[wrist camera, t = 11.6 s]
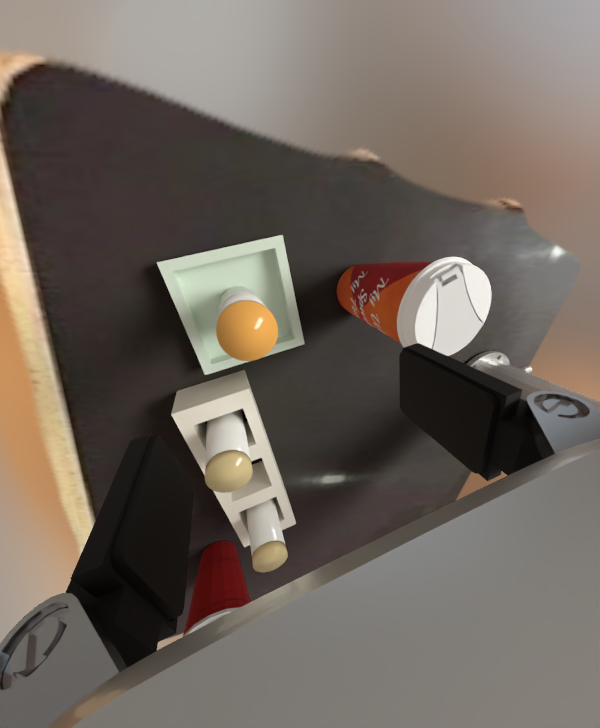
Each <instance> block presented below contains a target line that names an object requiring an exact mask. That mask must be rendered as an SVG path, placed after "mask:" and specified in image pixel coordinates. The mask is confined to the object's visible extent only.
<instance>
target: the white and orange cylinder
mask: <svg viewBox="0 0 600 728" xmlns="http://www.w3.org/2000/svg"><path fill="white" fill-rule="evenodd" d="M216 335H217V340H218V342H219V345H220V346H221V348H222V349H223V350H224V351H225V352H226V353H227V354H228V355H229V356H231V357H233V358H235V359H238V360H242V361H253V360H257V359H260V358H262V357H264V356H265V355H267V354H268V353H269V352H270V351H271V350H272V349H273V347H274V345H275V344H276V341H277V337H278V326H277V322H276V320H275V318H274V316H273V315H272V313H271V312H270V311H269V310H268V308H267V307H266V306H265V305H264V304H263V302H262V301H261V300H260V299H259V298H258V296H257V295H256V294H255V293H254V292H253V291H252V290H251V289H249V288H247V287H244V286H234V287H231V288H229V289H228V290H226V291H225V292H224V293H223V295H222V297H221V299H220V304H219V312H218V319H217V327H216Z"/></svg>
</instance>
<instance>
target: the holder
mask: <svg viewBox="0 0 600 728" xmlns="http://www.w3.org/2000/svg"><path fill="white" fill-rule="evenodd" d="M242 408H243V410H244V413H245V415H246V418H247V420H248V421H247V422H245V423H244V425H245V430H246V436H247V441H248V447H249V452H250V458H251V461H254V460H256V459H259V458H262V460H263V461H261V462H258V463H255V464H253V465H252V469H253V473H252V477H251V479H250V480H249V482H248V483H247V484H246V485H244V486H243V487H242V488H240V489H238V490H235V491H232V492H226V493H222V492H216V491H214V493H215V495H216V497H217V499H218V500H219V502H220V504H221V506H222V508H223V510H224V511H225V513H226V515H227V517H228V519H229V520H230V522H231V524H232V526H233V528H234V529H235V531H236V533H237V535H238V537H239V539H240V540H241V542H242V544H243V546H244V547H246V546H248V545H250V539H249V531H248V523H247V515H246V509H248V508H250V507H253V506H255V505H257V504H260V503H262V502H265V501H267V500H269V499H272V498H274V501H275V505H276V509H277V513H278V517H279V521H280V525H281V529H282V530H284V529H286V528H288V527H290V526H293V525H295V524H296V521H295V518H294V515H293V512H292V508H291V505H290V502H289V499H288V495H287V493H286V490H285V487H284V484H283V481H282V478H281V475H280V472H279V469H278V466H277V463H276V460H275V457H274V455H273V452H272V449H271V446H270V443H269V440H268V437H267V434H266V431H265V428H264V425H263V422H262V420H261V417H260V414H259V411H258V408H257V405H256V402H255V399H254V396H253V393H252V390H251V387H250V384H249V382H248V379H247V376H246V373H245V370H242V371H239V372H236V373H232V374H229V375H226V376H223V377H220V378H217V379H214V380H210V381H207V382H204V383H201V384H198V385H195V386H192V387H188V388H185V389H182V390H179V391H177V393H176V397H175V401H174V405H173V409H172V413H171V415H172V417H173V419H174V421H175V423H176V424H177V426H178V428H179V430H180V432H181V433H182V435H183V437H184V439H185V441H186V442H187V444H188V446H189V448H190V450H191V452H192V453H193V455H194V457H195V459H196V461H197V462H198V464H199V466H200V468H201V470H202V471H203V473H204V475H205V463H206V434H207V425H206V422H205V421H208V420H211V419H214V418H217V417H219V416H222V415H225V414H228V413H231V412H234V411H237V410H240V409H242Z"/></svg>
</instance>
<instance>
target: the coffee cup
mask: <svg viewBox="0 0 600 728" xmlns="http://www.w3.org/2000/svg"><path fill="white" fill-rule="evenodd" d="M337 298H338V301H339V303H340V305H341V306H342V307H343V308H344V309H345V310H347V311H348V312H350V313H351V314H353V315H354V316H356V317H358V318H359V319H361V320H363V321H364V322H366V323H367V324H369V325H371V326H372V327H374V328H376V329H378V330H379V331H381V332H383V333H384V334H386V335H388V336H389V337H391V338H393V339H394V340H396V341H398V342H399V343H401V344H402V346H403V347H407V346H410V345H413V344H416V343H419V344H422V345H424V346H426V347H428V348H431V349H433V350H435V351H437V352H440V353H442V354H444V355H446V356H449V355H452V354H454V353H456V352H457V351H459V350H461V349H462V348H463V347H465V346H466V345H467V344H468V343H469V342H470V341H471V340H472V339H473V338H474V337H475V335H476V334H477V333H478V331H479V330H480V328H481V327H482V325H483V324H484V322H485V320H486V317H487V315H488V312H489V308H490V304H491V286H490V282H489V280H488V278H487V276H486V275H485V273H484V272H483V271H482V270H481V269H479V268H478V267H476V266H474V265H472V264H471V263H470V262H469V261H467V260H465V259H463V258H460V257H446V258H442V259H439V260H437V261H435V262H395V263H375V264H359V265H355V266H352V267H350V268H349V269H347V270H346V271H345V272H344V273H343V274H342V276H341V277H340V279H339V282H338V285H337Z"/></svg>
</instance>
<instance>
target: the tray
mask: <svg viewBox="0 0 600 728" xmlns="http://www.w3.org/2000/svg"><path fill="white" fill-rule="evenodd" d="M157 265H158V267H159V269H160V272H161V274H162V276H163V279H164V281H165V283H166V286H167V288H168V290H169V293H170V295H171V297H172V299H173V302H174V304H175V306H176V309H177V311H178V313H179V316H180V318H181V320H182V323H183V325H184V327H185V330H186V332H187V334H188V337H189V339H190V341H191V344H192V346H193V348H194V350H195V353H196V355H197V357H198V360H199V362H200V364H201V367H202V369H203V371H204V374H205V375H207V374H211V373H214V372H217V371H220V370H223V369H227V368H230V367H233V366H236V365H239V364H243V363H246V362H249V361H242V360H238V359H235V358H233V357H231V356H229V355H228V354H227V353H226V352H225V351H224V350H223V349H222V348H221V346H220V345H219V342H218V340H217V335H216V327H217V319H218V312H219V304H220V299H221V297H222V295H223V293H224V292H225V291H226V290H228V289H229V288H231V287H234V286H244V287H247V288H249V289H251V290H252V291H253V292H254V293H255V294H256V295H257V296H258V298H259V299H260V300H261V301H262V302H263V304H264V305H265V306H266V307H267V308H268V310H269V311H270V312H271V313H272V315H273V316H274V318H275V320H276V322H277V326H278V337H277V341H276V344H275V345H274V347H273V349H272V350H271V351H270V352H269V353H268V354H267V355H265V356H268V355H271V354H275V353H278V352H281V351H284V350H287V349H291V348H294V347H297V346H300V345H303V344H304V339H303V334H302V329H301V324H300V319H299V314H298V309H297V304H296V299H295V294H294V289H293V284H292V280H291V275H290V270H289V265H288V260H287V255H286V250H285V245H284V240H283V235H279V236H275V237H270V238H266V239H261V240H257V241H252V242H248V243H243V244H239V245H234V246H230V247H225V248H221V249H216V250H212V251H207V252H203V253H198V254H194V255H189V256H184V257H180V258H175V259H171V260H166V261H162V262H157ZM265 356H264V357H265Z"/></svg>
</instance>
